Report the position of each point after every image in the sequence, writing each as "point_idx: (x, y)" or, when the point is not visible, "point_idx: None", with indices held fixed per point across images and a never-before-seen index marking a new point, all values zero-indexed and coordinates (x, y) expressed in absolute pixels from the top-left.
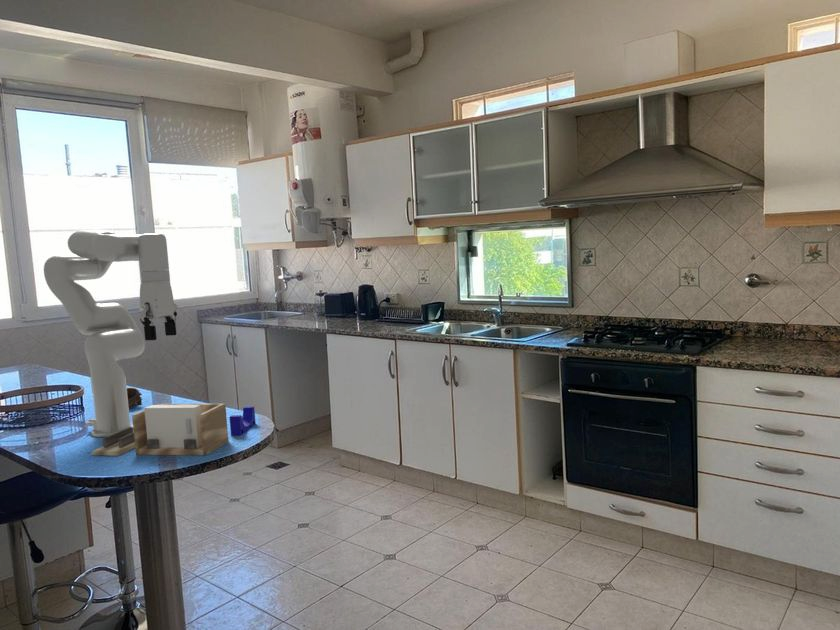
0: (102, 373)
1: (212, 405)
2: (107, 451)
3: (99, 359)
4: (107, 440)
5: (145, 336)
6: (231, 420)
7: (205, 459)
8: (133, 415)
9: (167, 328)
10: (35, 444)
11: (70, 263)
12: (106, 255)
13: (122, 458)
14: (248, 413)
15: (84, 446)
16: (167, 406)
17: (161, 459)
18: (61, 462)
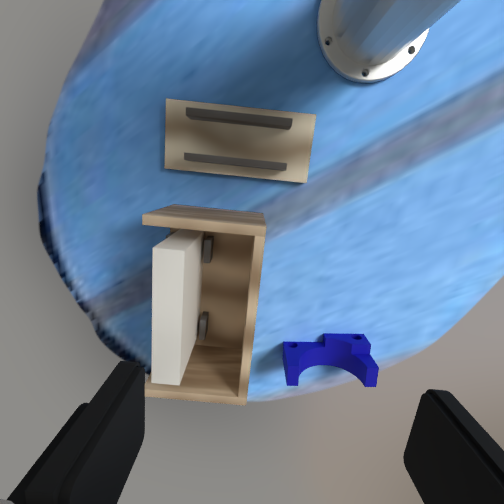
0: None
1: (240, 377)
2: (165, 139)
3: None
4: (193, 116)
5: (107, 385)
6: (286, 364)
7: (148, 348)
8: (142, 218)
9: (459, 470)
10: None
11: None
12: None
13: (150, 188)
14: (358, 370)
15: (239, 23)
16: (167, 308)
17: (146, 272)
18: (120, 50)
